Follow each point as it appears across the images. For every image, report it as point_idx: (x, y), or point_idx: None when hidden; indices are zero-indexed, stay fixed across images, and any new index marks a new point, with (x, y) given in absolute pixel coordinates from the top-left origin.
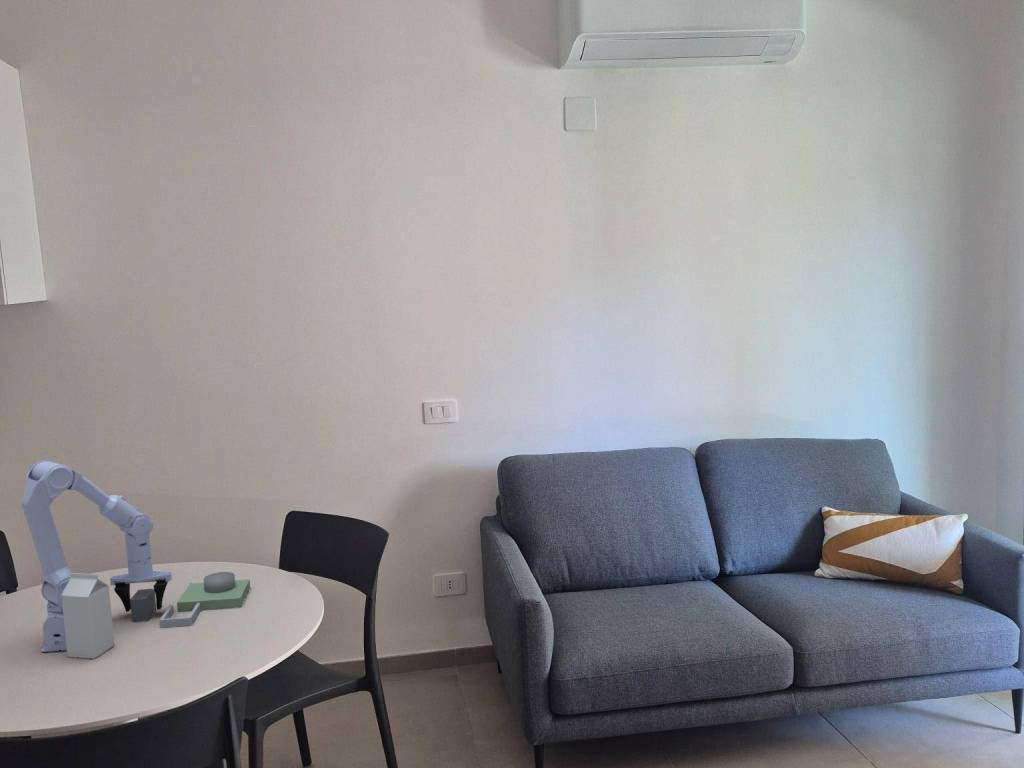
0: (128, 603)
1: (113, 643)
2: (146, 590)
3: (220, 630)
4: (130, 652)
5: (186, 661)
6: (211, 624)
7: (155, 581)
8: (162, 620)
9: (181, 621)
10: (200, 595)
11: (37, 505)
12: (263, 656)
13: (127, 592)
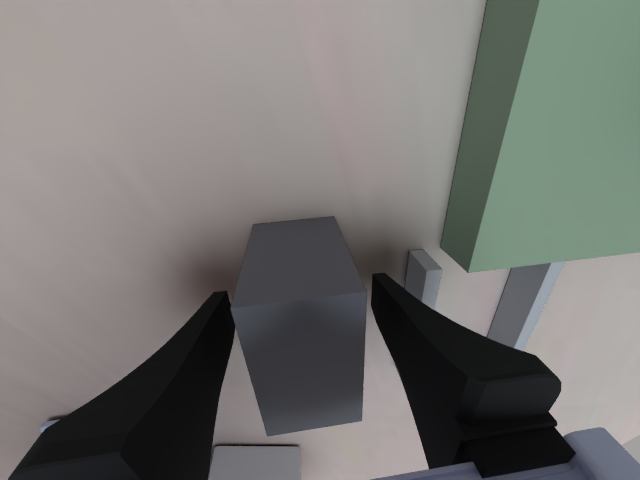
0: (222, 344)
1: (299, 457)
2: (311, 323)
3: (563, 372)
4: (353, 457)
5: None
6: (549, 343)
7: (454, 478)
8: None
9: None
10: (602, 178)
11: None
12: None
13: (196, 408)
